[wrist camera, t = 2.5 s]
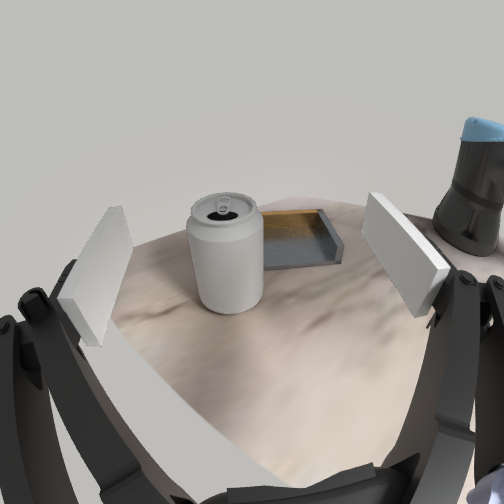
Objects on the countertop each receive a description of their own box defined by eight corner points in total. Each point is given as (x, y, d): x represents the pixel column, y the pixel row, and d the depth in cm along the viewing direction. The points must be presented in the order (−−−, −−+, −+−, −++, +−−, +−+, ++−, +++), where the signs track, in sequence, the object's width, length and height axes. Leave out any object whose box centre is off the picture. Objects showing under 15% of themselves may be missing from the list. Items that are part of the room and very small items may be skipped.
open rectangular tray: (320, 225, 46) (322, 209, 44) (340, 263, 38) (344, 245, 36) (247, 229, 45) (246, 213, 43) (253, 271, 37) (252, 252, 35)
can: (195, 318, 31) (174, 226, 23) (205, 273, 37) (192, 189, 29) (263, 319, 30) (263, 225, 23) (263, 274, 36) (263, 187, 29)
